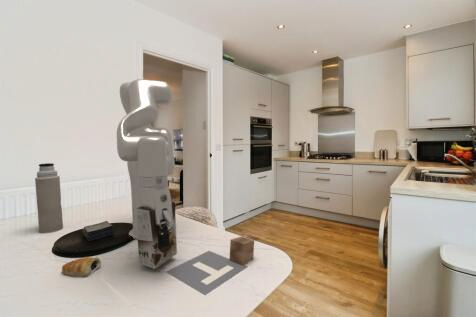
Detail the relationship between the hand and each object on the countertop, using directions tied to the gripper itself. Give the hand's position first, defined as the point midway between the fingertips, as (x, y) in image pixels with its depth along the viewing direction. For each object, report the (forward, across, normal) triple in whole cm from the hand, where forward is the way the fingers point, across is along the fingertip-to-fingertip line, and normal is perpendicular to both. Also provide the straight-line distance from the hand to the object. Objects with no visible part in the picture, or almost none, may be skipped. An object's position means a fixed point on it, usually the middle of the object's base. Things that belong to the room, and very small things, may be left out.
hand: (155, 242), depth 68 cm
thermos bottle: (+10, +63, +12) cm, 64 cm away
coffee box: (+6, 0, -1) cm, 6 cm away
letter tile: (+7, -13, -8) cm, 17 cm away
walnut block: (+7, -17, -17) cm, 25 cm away
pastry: (+8, +14, +14) cm, 22 cm away
